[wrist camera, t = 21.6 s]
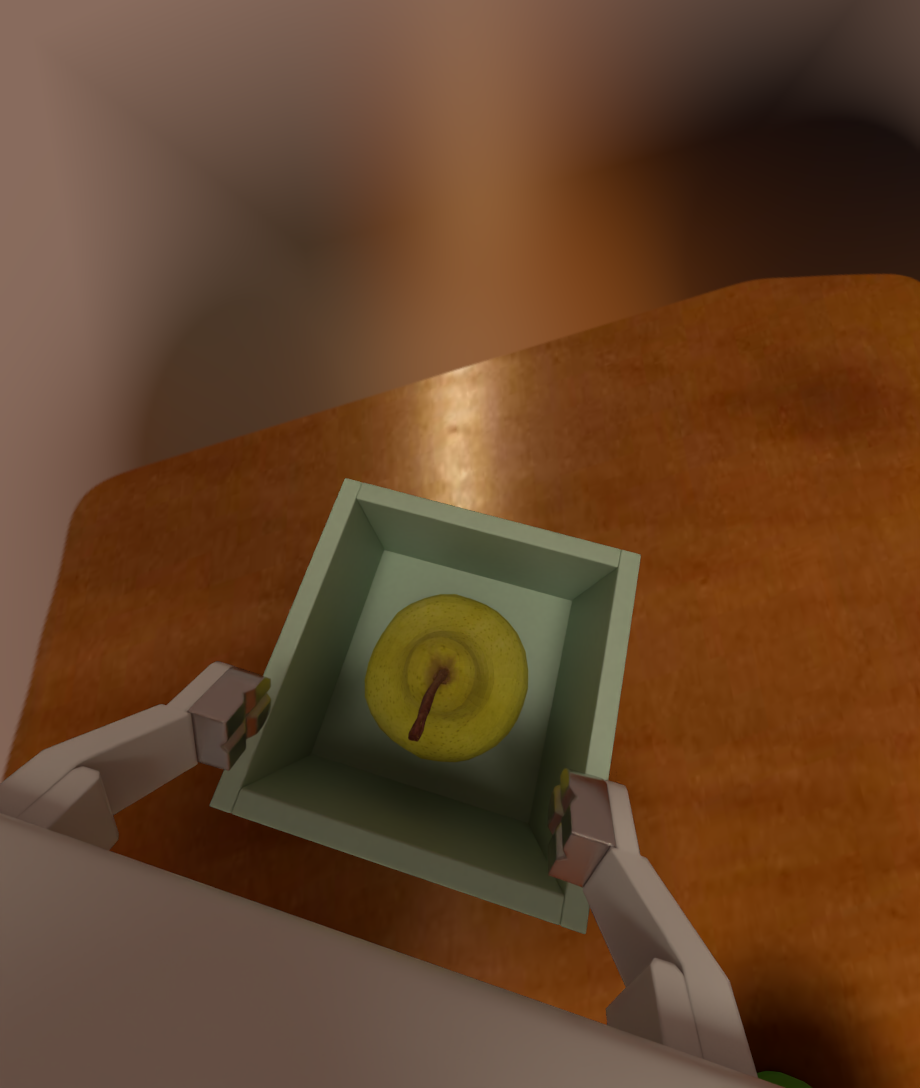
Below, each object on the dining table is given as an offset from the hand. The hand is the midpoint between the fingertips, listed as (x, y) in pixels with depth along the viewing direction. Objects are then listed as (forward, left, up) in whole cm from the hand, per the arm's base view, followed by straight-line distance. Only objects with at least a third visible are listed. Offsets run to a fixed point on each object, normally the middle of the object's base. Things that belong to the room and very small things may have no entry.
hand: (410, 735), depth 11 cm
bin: (0, +2, -11) cm, 12 cm away
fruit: (0, +2, -11) cm, 11 cm away
